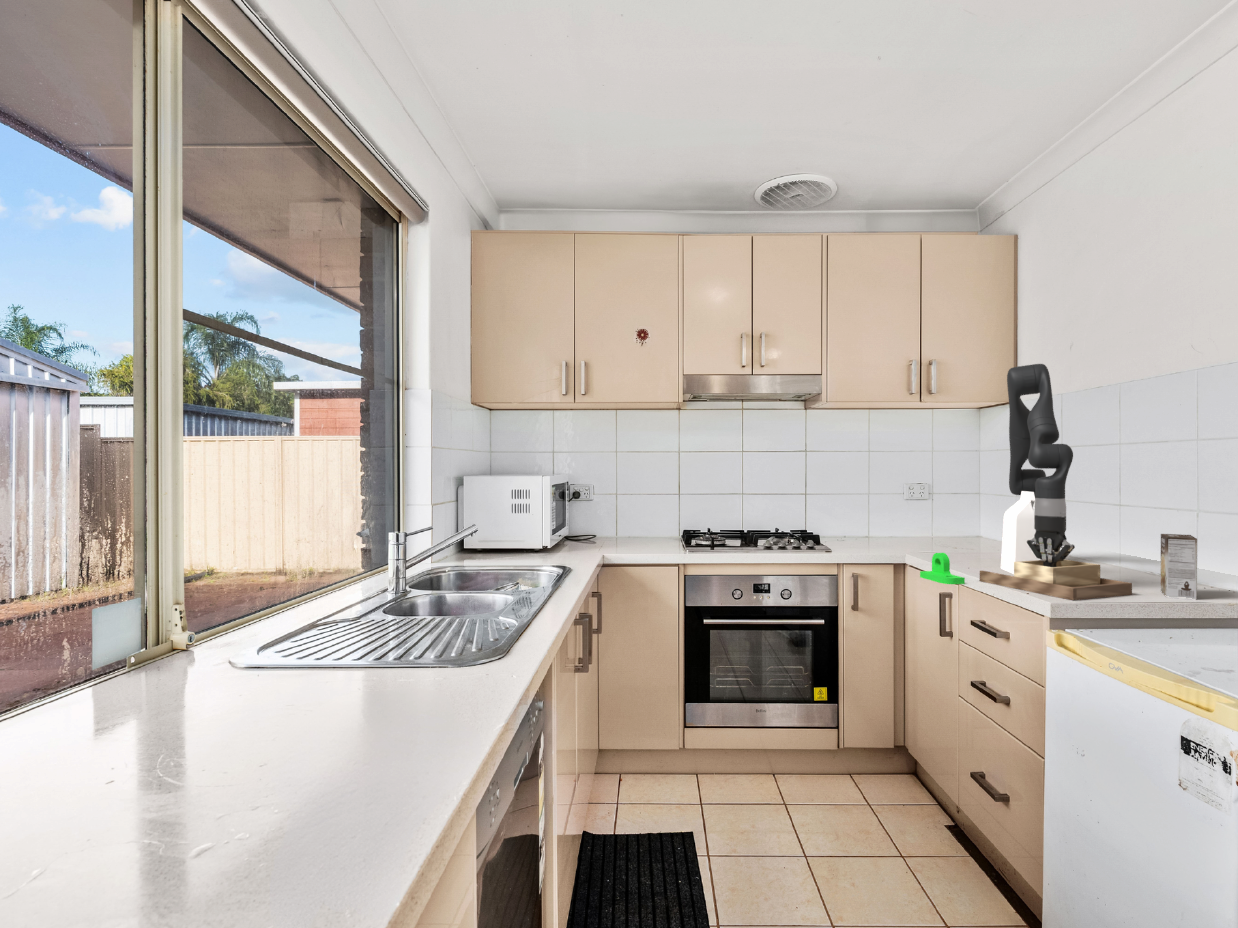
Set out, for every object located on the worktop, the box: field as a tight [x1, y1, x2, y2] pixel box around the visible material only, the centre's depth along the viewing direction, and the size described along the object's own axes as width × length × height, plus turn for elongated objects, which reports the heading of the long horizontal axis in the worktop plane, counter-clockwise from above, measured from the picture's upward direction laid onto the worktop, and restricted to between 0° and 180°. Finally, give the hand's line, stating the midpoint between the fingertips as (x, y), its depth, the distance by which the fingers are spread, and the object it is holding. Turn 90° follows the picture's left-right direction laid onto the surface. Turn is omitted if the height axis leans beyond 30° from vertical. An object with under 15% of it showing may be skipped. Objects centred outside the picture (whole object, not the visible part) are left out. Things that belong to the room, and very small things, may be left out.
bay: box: [979, 570, 1133, 601], centre depth 181 cm, size 28×22×3 cm
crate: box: [1013, 558, 1101, 587], centre depth 180 cm, size 12×18×6 cm, turn 109°
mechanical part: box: [919, 552, 966, 585], centre depth 192 cm, size 12×6×8 cm, turn 9°
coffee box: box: [1160, 533, 1198, 600], centre depth 170 cm, size 9×6×16 cm
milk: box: [1000, 491, 1047, 575], centre depth 206 cm, size 12×12×26 cm
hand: (1049, 575), depth 182 cm, fingers closed
